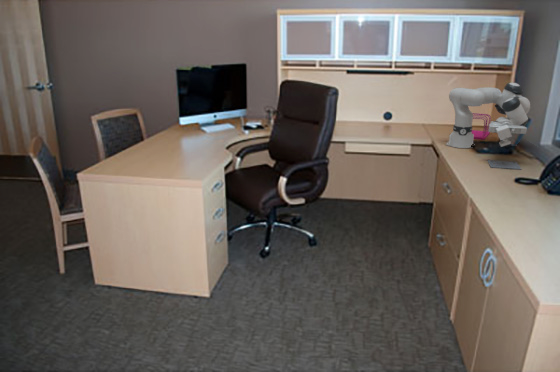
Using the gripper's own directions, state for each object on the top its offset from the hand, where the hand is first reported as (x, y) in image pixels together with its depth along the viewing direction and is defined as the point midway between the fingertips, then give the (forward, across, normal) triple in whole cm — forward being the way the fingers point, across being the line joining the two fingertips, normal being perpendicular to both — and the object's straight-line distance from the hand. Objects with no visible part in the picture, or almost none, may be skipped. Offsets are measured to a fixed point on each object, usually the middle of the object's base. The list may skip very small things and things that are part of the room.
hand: (509, 131), depth 257 cm
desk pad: (-1, 0, -20) cm, 20 cm away
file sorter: (-84, +8, -20) cm, 86 cm away
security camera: (-1, 0, -7) cm, 7 cm away
